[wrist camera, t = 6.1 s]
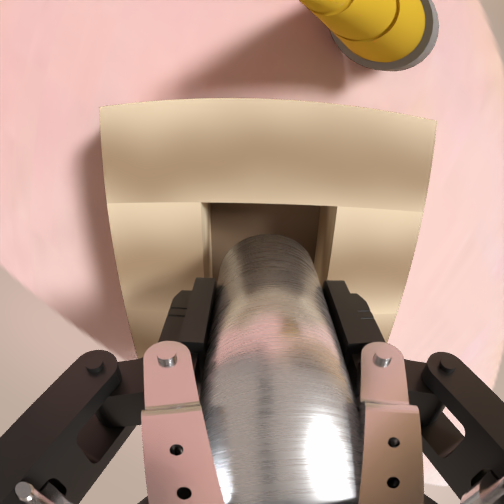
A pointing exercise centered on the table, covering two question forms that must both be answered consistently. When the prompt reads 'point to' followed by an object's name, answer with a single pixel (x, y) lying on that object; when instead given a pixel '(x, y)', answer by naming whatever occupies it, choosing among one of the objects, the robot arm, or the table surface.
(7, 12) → the table surface
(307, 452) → the pin
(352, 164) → the socket block
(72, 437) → the robot arm
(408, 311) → the table surface
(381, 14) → the drill bit
